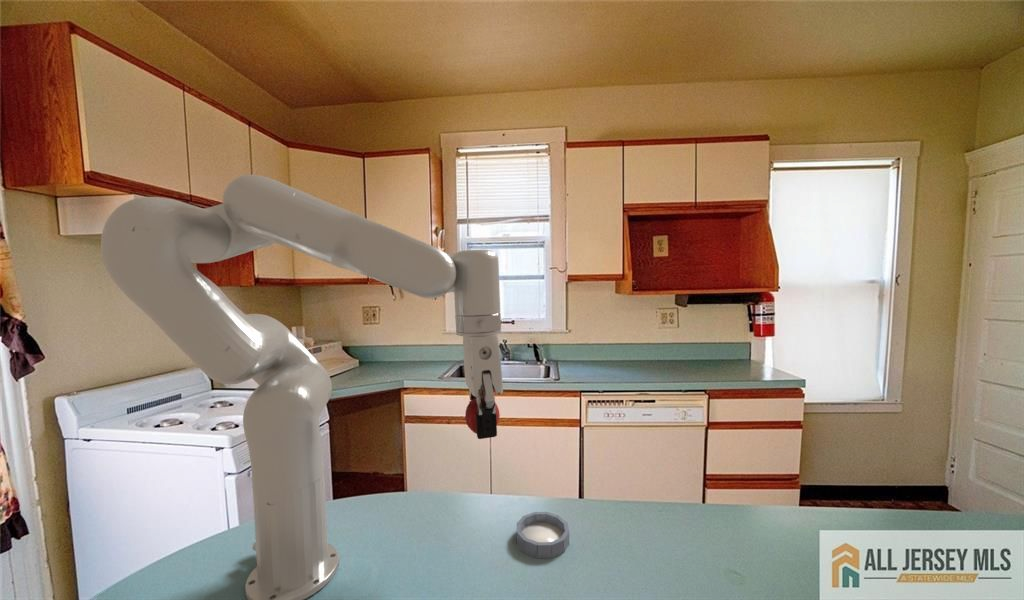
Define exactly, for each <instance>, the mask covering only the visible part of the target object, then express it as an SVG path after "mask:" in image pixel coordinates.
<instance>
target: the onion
mask: <svg viewBox="0 0 1024 600" xmlns="http://www.w3.org/2000/svg"><path fill="white" fill-rule="evenodd" d="M479 394H480V395H483V394H484V391H480V392H479ZM483 401H485V399H481V405H482V403H483ZM495 408H496V422H497V424H498V423H499V421H500V414H501V413H500V409H499V407H498V405H497V403H496V402H495ZM476 414H478V409H477V399H476V397H475V398H474V399H473V400H472V401H471V402H470V403H468V404H467V406H466V409H465V416H464V417H465V418H464V419H465V424H466V425H467V427H468V428H469V429H470V430H471V431H472V433H474V434H476V435H477V424H476Z"/></svg>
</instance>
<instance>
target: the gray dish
mask: <svg viewBox="0 0 1024 600" xmlns="http://www.w3.org/2000/svg"><path fill="white" fill-rule="evenodd" d="M569 545H570V530H569V525H568V522H567V521H566V520H565V519H564V518H562V516H560V515H558V514H554V513H551V512H548V511H533V512H530V513H527V514H525V515H523V516H521V518H520V519H519V520H518V521H516V546H518V547H519V549H520V550H521V551H522V552H523V553H524V554H526V555H528V556H531V557H532V558H533V557H534V558H536V559H553V558H555V557H557V556H560V555H561V554H564V553H565V552H566V550H567V549H568V547H569Z"/></svg>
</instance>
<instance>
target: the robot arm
mask: <svg viewBox="0 0 1024 600" xmlns="http://www.w3.org/2000/svg"><path fill="white" fill-rule="evenodd" d="M100 237H101V238H100V253H101V258H102V261H103V264H104V268H105V269H106V272H107V274H108V275H109V277H110V278H111V279H112V281H113V282H114V283H115V286H117V287H118V289H120V291H121V292H122V293H123V294H124V295H125V296H126V297H127V298H128V299H129V300H130V301H131V302H132V303H134V304H135V306H137V307H138V308H139V309H140V310H141V311H142V312H143V313H144V314H146V316H147V317H149V318H150V319H151V320H152V321H153V322H154V323H155V324H156V325H157V326H158V328H159V329H161V331H163V332H164V334H165V335H166V336H167V337H168V338H169V339H170V340H171V341H172V342H173V343H174V344H175V346H177V347H178V348H179V349H180V350H181V351H182V352H183V353H184V354H185V355H186V356H187V357H188V358H189V359H190V360H191V361H192V362H193V363H194V364H195V365H196V366H197V367H198V369H200V371H202V372H203V374H205V375H207V377H209V378H210V379H211V380H212V381H214V382H217V383H219V384H222V385H229V386H230V385H236V384H237V385H238V384H241V383H244V382H247V381H249V380H251V379H252V380H253V381H254V382H255V383H256V384H257V385H258V386H257V387H256V388H255V389H254V391H253V392H252V393H251V394H250V396H249V397H248V399H247V401H246V404H245V407H244V409H243V414H242V415H243V416H242V425H243V426H242V427H243V432H244V436H245V440H246V444H247V447H248V454H249V460H250V470H251V483H252V485H251V487H252V499H253V515H254V516H253V519H254V532H255V542H254V543H253V544H252V550H253V551H255V553H256V555H255V556H256V566H255V568H254V569H253V570H251V572H250V573H249V575H248V577H247V579H246V582H245V597H246V599H247V600H306V599H307V598H310V597H311V596H313V595H315V594H316V593H317V592H319V591H320V590H322V588H324V587H325V586H326V585H327V584H328V583H329V582H330V581H331V579H332V578H333V577H335V574H336V572H337V571H338V568H339V565H340V564H339V563H340V562H339V561H340V560H339V559H340V558H339V551H338V550H337V548H336V547H335V546H333V545H332V544H330V543H328V529H327V527H328V526H327V505H326V503H327V501H326V500H327V499H326V482H325V481H326V480H325V478H326V477H325V460H324V449H323V447H324V446H323V441H322V435H321V430H320V428H321V427H320V416H321V413H323V411H324V408H325V407H326V406H327V404H328V402H329V400H330V398H331V396H332V395H331V394H332V392H333V391H332V390H333V384H332V379H331V377H330V375H329V373H328V371H327V370H326V369H325V368H324V366H323V365H322V363H320V361H319V360H317V359H316V357H315V356H314V355H313V354H312V353H311V352H310V351H309V350H308V349H307V347H306V346H304V344H303V343H302V342H301V341H300V340H299V339H298V338H297V337H296V336H295V334H293V333H292V331H291V330H290V329H288V327H287V326H286V325H284V324H283V323H282V322H281V321H279V320H278V319H276V318H274V317H272V316H269V315H267V314H261V313H248V314H245V313H244V312H243V311H242V310H241V309H240V308H238V306H237V305H236V304H234V303H233V302H232V300H230V299H229V297H228V296H227V295H225V293H224V292H223V291H222V289H221V288H220V287H219V286H218V285H217V284H215V283H214V282H213V281H211V280H210V279H209V278H208V277H206V276H205V275H204V274H203V273H202V272H200V271H199V270H198V269H197V268H195V266H194V265H193V264H211V263H215V262H221V261H224V260H225V261H226V260H228V259H230V258H234V257H237V256H239V255H242V254H243V255H244V254H247V253H249V252H252V251H256V250H259V249H262V248H265V247H268V246H272V245H275V244H276V245H277V244H278V245H280V246H283V247H286V248H289V249H291V250H294V251H297V252H299V253H302V254H305V255H306V256H309V257H312V258H315V259H317V260H319V261H323V262H324V263H326V264H330V265H332V266H335V267H337V268H339V269H344V270H348V271H351V272H352V271H353V272H355V273H358V274H360V275H363V276H366V277H368V278H370V279H374V280H376V281H378V282H381V283H383V284H386V285H389V286H391V287H394V288H395V289H398V290H402V291H404V292H406V293H409V294H412V295H414V296H417V297H419V298H423V299H432V300H433V299H438V298H441V297H443V296H444V295H446V294H450V293H453V294H454V295H453V296H454V313H455V314H454V315H455V317H454V318H455V333H456V336H458V337H459V336H460V337H462V343H463V344H462V347H463V348H462V349H463V350H462V351H463V352H462V354H463V371H464V380H465V384H466V386H467V388H468V389H469V390H468V391H469V401H468V402H469V403H470V402H471V401H472V400H473V399H474V398H475V397H476V399H477V409H478V414H476V424H477V434H476V438H477V439H479V440H483V439H489V438H495V437H497V436H498V430H497V429H498V427H497V425H498V423H497V422H496V408H495V403H496V396H495V393H496V394H497V395H499V396H500V395H502V394H503V393H504V383H503V382H504V381H503V374H502V373H503V371H502V360H501V351H500V350H501V349H500V343H499V338H498V334H501V333H502V322H501V321H502V319H501V317H502V316H501V296H500V274H499V273H500V270H499V269H500V267H499V257H498V255H497V253H496V252H495V251H493V250H491V249H466V250H461V251H457V252H455V253H452V252H451V253H450V252H449V253H448V252H445V251H444V250H442V249H440V248H438V247H436V246H435V245H434V246H433V245H432V244H430V243H426V242H424V241H422V240H420V239H417V238H414V237H412V236H409V235H407V234H405V233H403V232H400V231H399V230H398V231H397V230H395V229H393V228H390V227H388V226H386V225H383V224H380V223H377V222H375V221H373V220H370V219H368V218H366V217H364V216H362V215H360V214H357V213H355V212H352V211H350V210H348V209H346V208H343V207H340V206H338V205H335V204H333V203H331V202H328V201H325V200H323V199H322V198H319V197H316V196H314V195H311V194H309V193H307V192H305V191H302V190H300V189H297V188H295V187H292V186H290V185H288V184H285V183H283V182H282V181H279V180H276V179H273V178H270V177H268V176H265V175H259V174H245V175H244V174H242V175H240V176H237V177H236V178H234V179H232V181H231V182H229V183H228V184H227V185H226V187H225V189H224V191H223V194H222V203H220V204H217V205H213V206H209V207H205V208H202V207H199V206H196V205H194V204H189V203H188V202H183V201H180V200H176V199H173V198H168V197H161V196H144V197H136V198H133V199H130V200H127V201H125V202H123V203H121V204H120V205H119V206H117V207H116V208H115V209H114V210H113V211H112V212H111V214H110V215H108V217H107V219H106V221H105V222H104V225H103V229H102V232H101V236H100ZM480 391H484V394H483V395H480V394H479V392H480ZM481 399H485V401H483V403H482V405H481ZM469 403H468V404H469Z"/></svg>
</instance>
